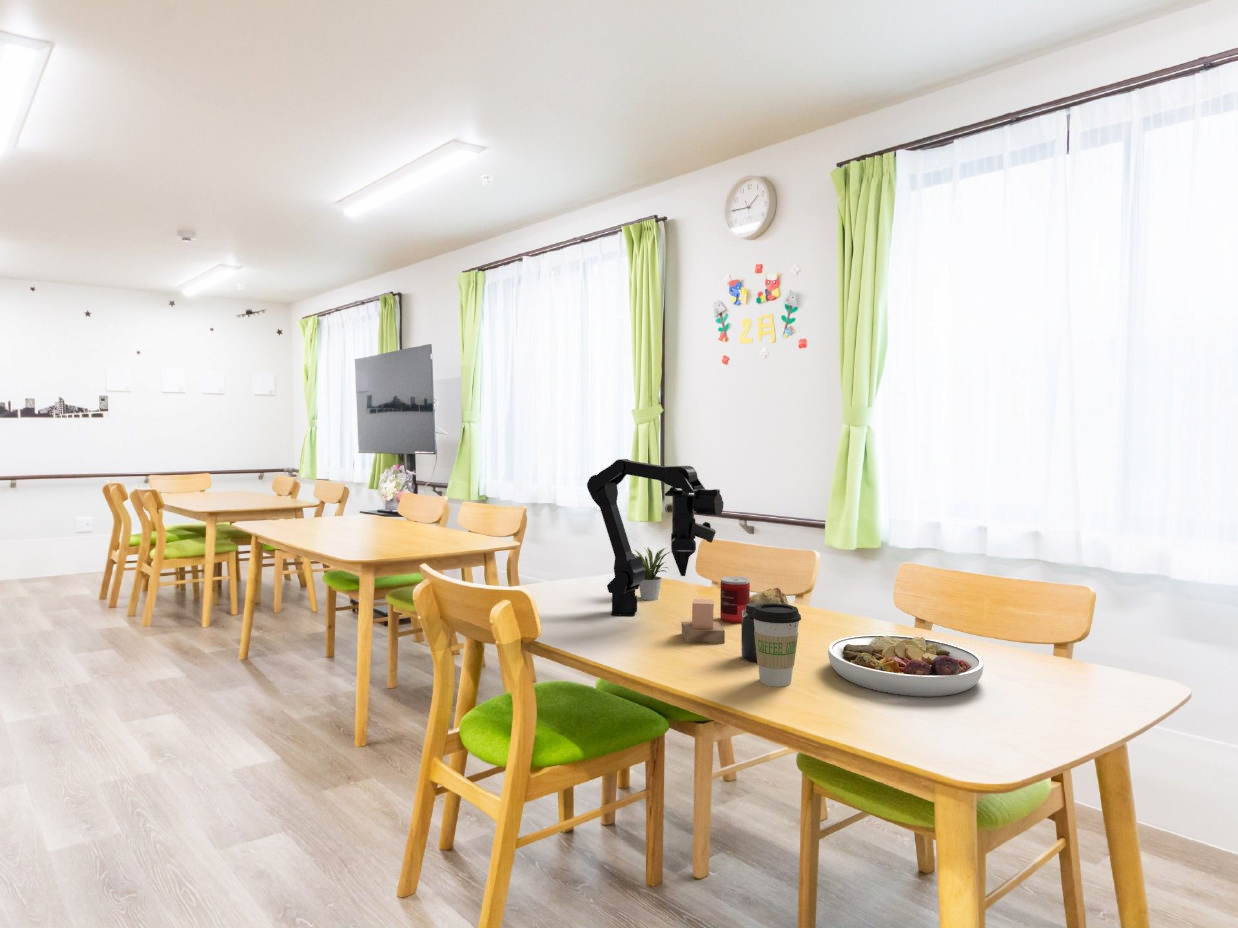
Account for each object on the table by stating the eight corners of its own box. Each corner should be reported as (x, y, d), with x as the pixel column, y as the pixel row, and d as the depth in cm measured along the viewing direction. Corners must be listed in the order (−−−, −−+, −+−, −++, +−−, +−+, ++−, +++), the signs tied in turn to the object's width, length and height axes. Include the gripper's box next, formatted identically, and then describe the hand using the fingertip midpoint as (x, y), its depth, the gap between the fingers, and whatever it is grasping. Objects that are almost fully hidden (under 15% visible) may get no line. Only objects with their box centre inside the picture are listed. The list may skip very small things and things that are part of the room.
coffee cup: (771, 692, 152) (772, 615, 151) (740, 678, 160) (741, 605, 160) (810, 685, 156) (811, 610, 156) (779, 671, 165) (780, 600, 164)
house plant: (681, 594, 241) (681, 541, 240) (674, 604, 227) (674, 548, 227) (635, 592, 244) (635, 540, 243) (625, 601, 231) (626, 546, 230)
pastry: (801, 620, 210) (802, 591, 209) (759, 624, 206) (759, 593, 206) (776, 609, 223) (776, 581, 223) (736, 612, 219) (736, 583, 219)
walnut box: (687, 645, 186) (687, 630, 186) (681, 635, 195) (681, 621, 195) (724, 645, 187) (724, 630, 187) (717, 635, 196) (717, 621, 196)
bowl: (799, 664, 171) (800, 628, 171) (909, 650, 182) (909, 617, 182) (894, 710, 143) (895, 668, 143) (1017, 691, 154) (1018, 651, 154)
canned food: (748, 616, 213) (748, 576, 213) (750, 624, 205) (750, 582, 205) (719, 616, 214) (720, 575, 213) (720, 623, 206) (721, 581, 205)
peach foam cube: (692, 627, 189) (692, 603, 189) (692, 622, 194) (693, 598, 194) (712, 628, 188) (713, 604, 188) (713, 623, 193) (713, 599, 193)
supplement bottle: (775, 656, 176) (776, 603, 176) (768, 664, 170) (768, 609, 169) (745, 652, 179) (746, 600, 178) (737, 660, 173) (737, 606, 172)
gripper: (716, 518, 196) (715, 580, 197) (712, 510, 215) (711, 567, 216) (671, 517, 197) (671, 579, 198) (671, 509, 216) (670, 566, 216)
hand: (682, 572), depth 207 cm, fingers open, 9 cm apart
